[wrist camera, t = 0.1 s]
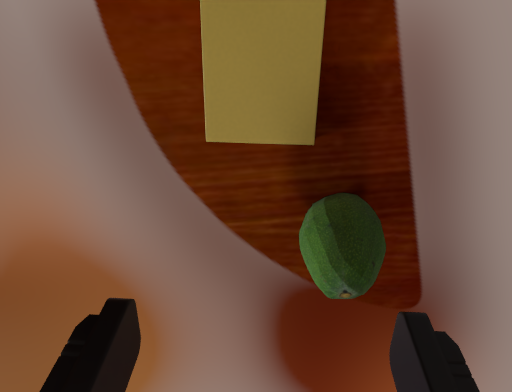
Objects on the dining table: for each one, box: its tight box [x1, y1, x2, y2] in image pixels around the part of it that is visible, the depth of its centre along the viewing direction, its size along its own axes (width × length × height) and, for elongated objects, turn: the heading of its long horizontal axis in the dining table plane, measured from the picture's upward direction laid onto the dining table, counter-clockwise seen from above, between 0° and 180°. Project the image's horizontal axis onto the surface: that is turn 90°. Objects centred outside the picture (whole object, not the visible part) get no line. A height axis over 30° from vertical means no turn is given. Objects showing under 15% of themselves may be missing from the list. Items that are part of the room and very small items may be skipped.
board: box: [200, 0, 326, 145], centre depth 37 cm, size 16×10×2 cm, turn 179°
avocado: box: [299, 193, 386, 299], centre depth 40 cm, size 8×8×12 cm
